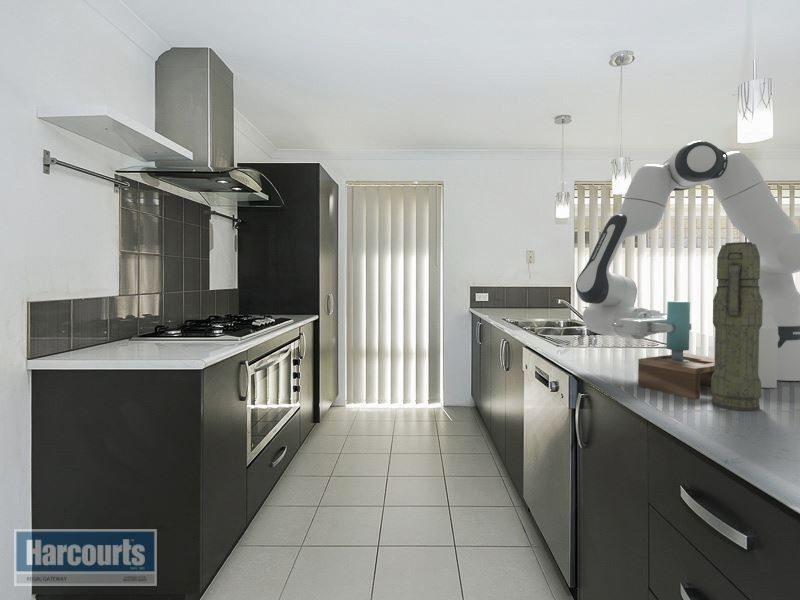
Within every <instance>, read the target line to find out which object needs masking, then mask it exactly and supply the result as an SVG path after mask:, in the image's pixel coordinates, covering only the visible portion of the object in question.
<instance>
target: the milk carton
mask: <svg viewBox="0 0 800 600" xmlns="http://www.w3.org/2000/svg"><path fill="white" fill-rule="evenodd" d="M777 352H778V327H777V325H776V323H775V321H774V319H773V318H772V316H771V311H762V326H761V328H760V330H759V364H758V376H759V378H760V381H761V389H762V388H765V389H766V388H767V389H777V385H778V383H777V382H778V380H777Z"/></svg>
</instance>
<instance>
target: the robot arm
mask: <svg viewBox="0 0 800 600" xmlns="http://www.w3.org/2000/svg"><path fill="white" fill-rule="evenodd" d="M701 184H705V185H707V186H708V187H710V188H711V189H712V190H713V191H714V193H715V195H716V197H717V199H718V201H719V203H720V205H721V206H722V208H723V210H724V211H725V213H726V215H727V217H728V219H729V221H730V223H731V225H732V226H733V227H734V228H735V229H736V230H738V231H739V232H740V233H741V234H743V236H744V237H745V238H746V239H747V240H748V242H752V244H756V246H757V249H758V252H759V254H760V279H758V286H759V292H760V295H761V297H762V300H763V311H771V316H772V318H773V319H774V321H775V323H776V325H777V327H778V352H777V381H784V382H785V381H786V382H789V381H790V382H796V381H797V382H798V381H799V382H800V292H799V291H798V289H797V287H796V283H795V282H794V277H793V274H795V273H799V272H800V227H799V226H798V225H797V224H796V223H795V222H794V221H793V220H792V219H791V217H789V215H788V214H787V213H786V212H785V211H784V210H783V209H782V207H781V205H780V204H779V203H778V201H777V200H776V198H775V196H774V194H773V193H772V191H771V189H770V187H769V186H768V184H767V183H766V181H765V179H764V177H763V176H762V174H761V172H760V171H759V169H758V168H757V166H756V165H755V164H754V163H753V161H752V160H751V159H750V158H749V157H748V156H747V155H746V154H745V153H743V152H741V151H729V152H726V151H724V150H722V149H720V148H719V147H717V146H716V145H714V143H711V142H708V141H705V140H697V141H692V142H689V143H687V144H686V145H684V146H682V147H681V148H679V149H678V150H676V151H675V152H674V153H673V154H672V155H671V157H670V158H668V159H667V160H666V161H665V162H663V164H662V165H660V164H657V163H656V164H655V163H653V164H651V163H649V164H645V165H642V166H641V167H640V168H638V170H637V171H635V174H634V176H633V178H632V180H631V182H630V184H629V186H628V189H627V191H626V193H625V197H624V199H623V202H622V204H621V206H620V208H619V209H618V211H617V213H616V214H614V215H613V216H611V218H610V219H608V221H607V223H605V226H604V227H603V230H602V231H601V234H600V236H599V237H598V240H597V241H596V244H595V246H594V247H593V248H594V249H593V250H592V253H591V255H590V257H589V259H588V261H587V262H586V264H585V266H584V268H583V269H582V270H581V272H580V273H579V275H578V277H577V279H576V282H575V287H576V288H575V290H576V293H577V295H578V297H579V299H580V300H581V301H582V302H584V303H587V304H590V305H589V306H587V307H586V308H585V309H584V311H583V313H582V321H583V324H584V326H585V328H586V329H588V331H591V332H593V333H596V334H598V335H604V336H609V337H610V336H611V337H614V336H618V337H620V338H625V339H630V340H642V339H643V338H645V337H646V338H647V337H648V336H651V335H656V334H663V333H667V332H674V331H675V325H671V324H667V313H665V312H664V313H663V312H661V310H660V311H659V310H652V309H647V308H643V307H640V306H639V307H637V306H635V302H636V300H637V294H638V288H637V284H636V282H635V281H634V280H633V279H632V278H631V277H627V276H624V275H621V274H617V273H613V272H610V267H611V265H612V262H613V261H614V258H615V256H616V254H617V252H618V249H619V248H620V247H621V245H622V243H623V242H624V241H625V240H627V239H628V238H632V237H636V236H642V235H646V234H648V233H651V232H652V231H654V230H655V229H656V228H657V227H658V226H659V224H660V222H661V220H662V219H663V216H664V213H665V209H666V207H667V204H668V203H667V202H668V199H669V197H670V196H671V193H672V192H673V191H675V192H676V191H677V192H679V191H686V190H689V189H691V188H695V187H697V186H699V185H701ZM691 330H692V323H690V328H689V331H691Z"/></svg>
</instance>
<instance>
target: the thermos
mask: <svg viewBox="0 0 800 600" xmlns="http://www.w3.org/2000/svg"><path fill="white" fill-rule="evenodd" d="M720 246H721V247H720V250H719V251H718V254H717V257H716V258H717V259H716V280H717V285H716V292H715V294H714V296H713V299H712V324H713V326H714V357H715V368H714V373H713V376H712V378H711V385H710V390H711V391H710V393H711V395H712V396H711V404H712V405H713V406H716V407H718V408H722V409H726V410H733V411H740V412H742V411H743V412H745V411H746V412H747V411H748V412H755V411H759V410H760V409H761V406H760V399H761V397H762V388H761V381H760V378H759V376H758V364H759V330H760V328H761V326H762V311H763V300H762V297H761V295H760V292H759V286H758V279H760V254H759V252H758V249H757V246H756V244H752V242H749V241H747V242H746V241H742V242H741V241H740V242H726V243H725V244H723V245H720Z"/></svg>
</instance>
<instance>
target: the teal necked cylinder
mask: <svg viewBox="0 0 800 600" xmlns="http://www.w3.org/2000/svg"><path fill="white" fill-rule="evenodd" d="M666 311H667V312H666V314H667V324H671V325H675V331H674V332H666V348H665V349H667V350H671V355H672V357H671V359H667V360H674V361H680V362H686V361H688V360H683V353H684V351H685V352H686V351H689V350H690V330H689V328H690V324H691V322H690V321H691V317H690V316H691V302H690V301H678V300H676V301H675V300H674V301H673V300H672V301H671V300H670V301H667V308H666ZM689 362H690V361H689Z"/></svg>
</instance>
